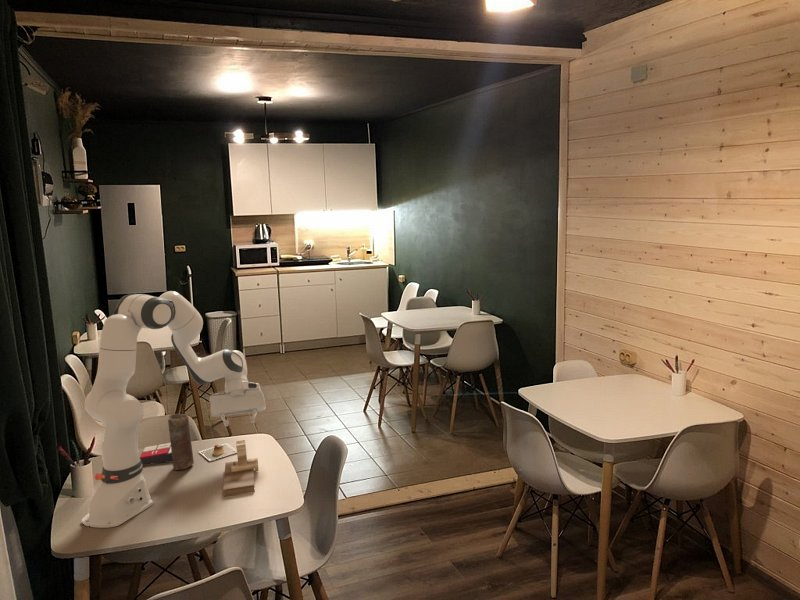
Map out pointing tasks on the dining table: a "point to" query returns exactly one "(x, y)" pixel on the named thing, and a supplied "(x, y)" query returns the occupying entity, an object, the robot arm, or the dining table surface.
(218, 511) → the dining table surface
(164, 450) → the red and white box
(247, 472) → the board
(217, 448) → the dessert
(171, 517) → the dining table surface
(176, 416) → the candle
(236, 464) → the stacked wooden blocks
